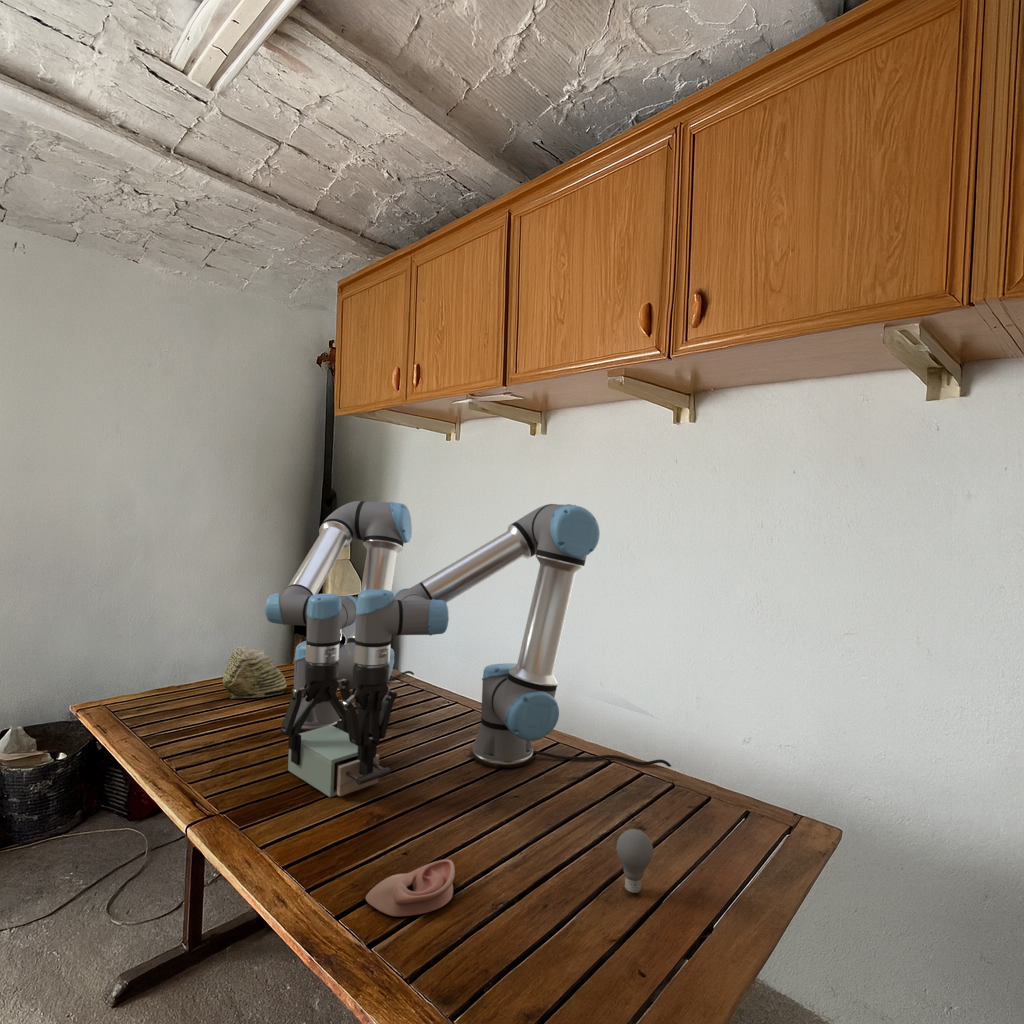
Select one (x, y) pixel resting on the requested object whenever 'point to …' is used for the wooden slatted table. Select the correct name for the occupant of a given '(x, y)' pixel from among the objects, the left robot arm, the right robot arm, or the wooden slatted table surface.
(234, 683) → the fossil
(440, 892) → the anatomical model
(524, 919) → the wooden slatted table surface
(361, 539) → the left robot arm
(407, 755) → the wooden slatted table surface
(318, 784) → the cabinet
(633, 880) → the light bulb
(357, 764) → the drawer
